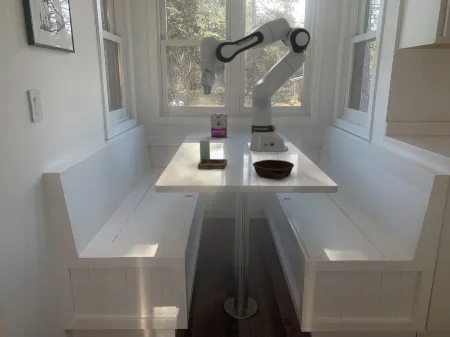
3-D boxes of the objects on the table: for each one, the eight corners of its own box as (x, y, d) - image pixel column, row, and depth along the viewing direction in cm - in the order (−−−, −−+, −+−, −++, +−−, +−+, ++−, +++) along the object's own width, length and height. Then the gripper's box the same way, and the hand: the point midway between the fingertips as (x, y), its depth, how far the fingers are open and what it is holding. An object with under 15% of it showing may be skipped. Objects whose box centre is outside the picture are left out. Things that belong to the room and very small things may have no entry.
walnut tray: (226, 163, 174) (226, 159, 173) (223, 169, 162) (223, 164, 162) (202, 163, 175) (202, 158, 175) (198, 169, 163) (197, 164, 163)
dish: (257, 183, 141) (257, 170, 140) (248, 169, 163) (248, 159, 161) (300, 181, 143) (301, 169, 142) (285, 168, 164) (286, 157, 163)
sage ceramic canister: (210, 159, 184) (210, 140, 182) (209, 161, 179) (208, 141, 177) (201, 159, 185) (200, 140, 182) (199, 161, 180) (198, 141, 177)
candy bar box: (227, 136, 258) (227, 113, 254) (226, 137, 253) (226, 114, 249) (212, 136, 260) (212, 113, 256) (211, 137, 255) (210, 114, 251)
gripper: (210, 68, 182) (209, 95, 185) (216, 69, 202) (215, 94, 205) (198, 67, 183) (197, 95, 186) (205, 68, 202) (205, 93, 206)
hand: (207, 94), depth 196 cm, fingers open, 8 cm apart
